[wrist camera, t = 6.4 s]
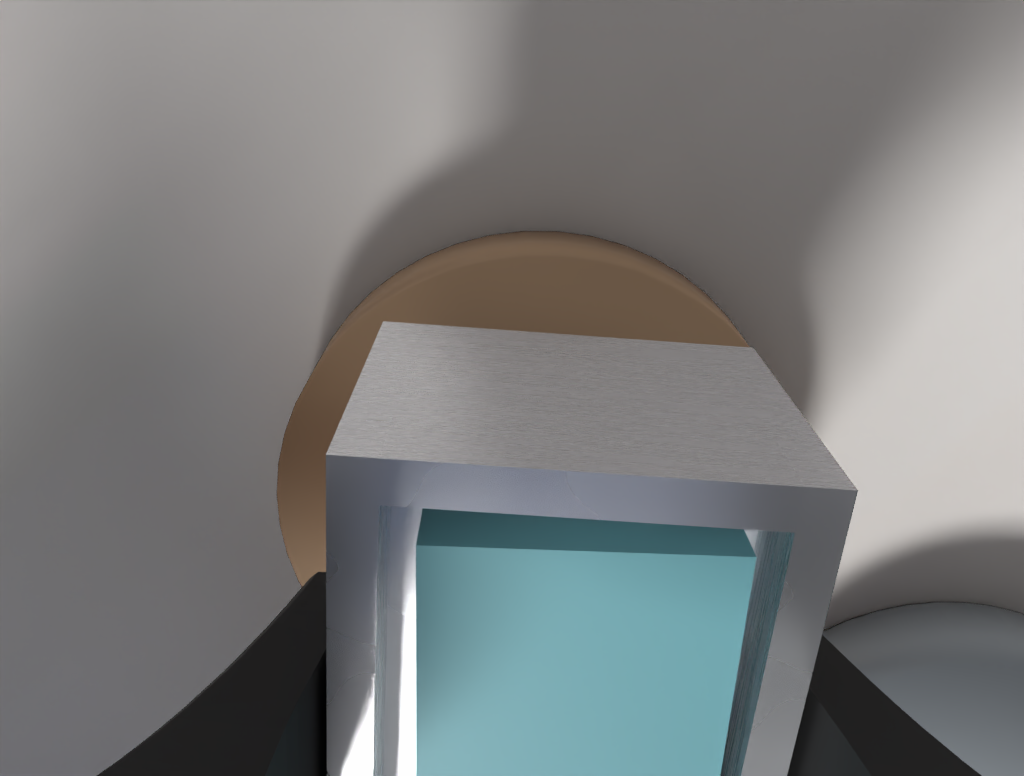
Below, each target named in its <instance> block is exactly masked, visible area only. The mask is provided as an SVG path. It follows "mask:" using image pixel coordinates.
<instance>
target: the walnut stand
mask: <svg viewBox="0 0 1024 776" xmlns="http://www.w3.org/2000/svg"><path fill="white" fill-rule="evenodd" d="M383 321H387V322H401V323H415V324H429V325H443V326H457V327H471V328H485V329H499V330H513V331H527V332H541V333H555V334H569V335H583V336H597V337H611V338H625V339H639V340H653V341H667V342H681V343H695V344H709V345H723V346H737V347H749V345H748V344H747V343H746V341H745V340H744V339H743V337H742V336H741V334H740V333H739V332H738V330H737V329H736V328H735V326H734V325H733V323H732V322H731V321H730V319H729V318H728V317H727V316H726V315H725V314H724V312H723V311H722V310H721V309H720V308H719V307H718V306H717V305H716V304H715V303H714V302H713V301H712V300H711V299H710V297H709V296H708V295H707V294H705V293H704V292H703V291H702V290H700V289H699V288H698V287H697V286H695V285H694V284H693V283H692V282H691V281H689V280H688V279H687V278H686V277H684V276H683V275H682V274H680V273H678V272H677V271H675V270H673V269H672V268H670V267H668V266H667V265H665V264H663V263H662V262H660V261H658V260H657V259H655V258H653V257H650V256H648V255H646V254H643V253H641V252H639V251H636V250H634V249H632V248H629V247H627V246H625V245H621V244H618V243H614V242H611V241H607V240H603V239H600V238H596V237H593V236H586V235H579V234H572V233H565V232H557V231H521V232H513V233H505V234H497V235H489V236H485V237H481V238H477V239H474V240H470V241H466V242H462V243H458V244H455V245H453V246H450V247H448V248H445V249H443V250H440V251H438V252H435V253H433V254H430V255H428V256H426V257H424V258H422V259H420V260H418V261H417V262H415V263H413V264H411V265H410V266H408V267H406V268H404V269H403V270H401V271H399V272H397V273H396V274H395V275H393V276H392V277H391V278H389V279H388V280H387V281H386V282H384V283H383V284H382V285H380V286H379V287H378V288H376V289H375V290H374V291H372V292H371V293H370V294H369V295H368V296H367V297H366V298H365V299H364V300H363V301H362V302H361V303H360V304H359V305H358V306H357V307H356V308H355V309H354V310H353V311H352V312H351V313H350V314H349V316H348V317H347V318H346V320H345V321H344V323H343V324H342V325H341V327H340V328H339V329H338V331H337V332H336V333H335V335H334V336H333V337H332V339H331V340H330V342H329V344H328V346H327V347H326V349H325V351H324V353H323V355H322V356H321V358H320V360H319V362H318V363H317V365H316V367H315V369H314V371H313V372H312V374H311V376H310V378H309V380H308V381H307V383H306V385H305V387H304V389H303V391H302V392H301V394H300V396H299V398H298V400H297V402H296V403H295V406H294V409H293V412H292V414H291V417H290V420H289V423H288V425H287V428H286V431H285V434H284V438H283V443H282V448H281V453H280V458H279V463H278V480H277V501H278V511H279V521H280V527H281V531H282V535H283V539H284V543H285V547H286V551H287V554H288V557H289V559H290V562H291V564H292V566H293V569H294V571H295V574H296V576H297V579H298V581H299V583H300V584H301V586H302V587H303V586H304V584H305V583H306V582H307V581H308V580H309V578H311V577H312V576H313V575H314V574H316V573H317V572H326V453H327V451H328V448H329V446H330V444H331V441H332V439H333V437H334V434H335V432H336V430H337V427H338V425H339V423H340V420H341V418H342V416H343V413H344V411H345V409H346V406H347V404H348V402H349V399H350V397H351V395H352V392H353V390H354V388H355V385H356V383H357V381H358V378H359V376H360V374H361V372H362V369H363V367H364V365H365V362H366V360H367V358H368V355H369V353H370V351H371V348H372V346H373V344H374V341H375V339H376V337H377V334H378V332H379V330H380V327H381V325H382V323H383Z"/></svg>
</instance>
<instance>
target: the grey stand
mask: <svg viewBox="0 0 1024 776" xmlns="http://www.w3.org/2000/svg"><path fill="white" fill-rule="evenodd" d="M822 635H823V636H824V637H825V638H826V639H827V640H828V641H830V642H831V643H832V644H833V645H834V646H835V647H836V648H837V649H838V650H839V651H840V652H841V653H842V654H843V655H844V656H845V657H846V658H847V659H848V660H849V661H850V662H851V663H852V664H853V665H854V666H856V667H857V668H858V669H859V670H860V671H861V672H862V673H863V674H864V675H865V676H866V677H867V678H868V679H869V680H870V681H871V682H872V683H874V684H875V685H876V686H877V687H878V688H879V689H880V690H881V691H882V692H883V693H884V694H885V695H887V696H888V697H889V698H890V699H891V700H892V701H893V702H894V703H895V704H897V705H898V706H899V707H900V708H901V709H902V710H903V711H904V712H906V713H907V714H908V715H909V716H910V717H911V718H912V719H913V720H915V721H916V722H917V723H918V724H919V725H920V726H921V727H923V728H924V729H925V730H926V731H927V732H929V733H930V734H931V735H932V736H934V737H935V738H936V739H937V740H938V741H940V742H941V743H942V744H943V745H944V746H946V747H947V748H948V749H949V750H950V751H952V752H953V753H954V754H955V755H956V756H958V757H959V758H960V759H961V760H962V761H964V762H965V763H966V764H967V765H969V766H970V767H971V768H973V769H974V770H975V771H977V772H978V773H979V774H980V775H982V776H1024V615H1023V614H1021V613H1018V612H1014V611H1010V610H1006V609H1002V608H998V607H994V606H988V605H980V604H972V603H953V602H934V603H924V604H914V605H905V606H900V607H896V608H891V609H886V610H881V611H877V612H873V613H870V614H867V615H864V616H861V617H858V618H854V619H851V620H848V621H846V622H844V623H841V624H839V625H837V626H835V627H832V628H830V629H828V630H825V631H823V633H822Z"/></svg>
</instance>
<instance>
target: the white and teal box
mask: <svg viewBox="0 0 1024 776" xmlns="http://www.w3.org/2000/svg"><path fill="white" fill-rule="evenodd" d="M857 492H858V490H857V489H856V487H855V486H854V485H853V483H852V482H851V480H850V479H849V478H848V476H847V475H846V474H845V472H844V471H843V469H842V468H841V467H840V465H839V464H838V463H837V461H836V460H835V459H834V457H833V456H832V454H831V453H830V452H829V450H828V449H827V448H826V446H825V445H824V444H823V442H822V441H821V439H820V438H819V437H818V435H817V434H816V433H815V431H814V430H813V428H812V427H811V426H810V424H809V423H808V422H807V420H806V419H805V418H804V416H803V415H802V413H801V412H800V411H799V409H798V408H797V407H796V405H795V404H794V403H793V401H792V400H791V398H790V397H789V396H788V394H787V393H786V392H785V390H784V389H783V387H782V386H781V385H780V383H779V382H778V381H777V379H776V378H775V377H774V375H773V374H772V372H771V371H770V370H769V368H768V367H767V366H766V364H765V363H764V362H763V360H762V359H761V357H760V356H759V355H758V353H757V352H756V351H755V349H754V348H751V347H737V346H723V345H709V344H695V343H681V342H667V341H653V340H639V339H625V338H611V337H597V336H583V335H569V334H555V333H541V332H527V331H513V330H499V329H485V328H471V327H457V326H443V325H429V324H415V323H401V322H387V321H383V323H382V325H381V327H380V330H379V332H378V334H377V337H376V339H375V341H374V344H373V346H372V348H371V351H370V353H369V355H368V358H367V360H366V362H365V365H364V367H363V369H362V372H361V374H360V376H359V378H358V381H357V383H356V385H355V388H354V390H353V392H352V395H351V397H350V399H349V402H348V404H347V406H346V409H345V411H344V413H343V416H342V418H341V420H340V423H339V425H338V427H337V430H336V432H335V434H334V437H333V439H332V441H331V444H330V446H329V448H328V451H327V453H326V684H327V776H416V542H417V537H418V531H419V526H420V521H421V515H422V510H423V508H426V509H441V510H456V511H471V512H486V513H502V514H517V515H532V516H547V517H562V518H578V519H593V520H608V521H623V522H638V523H654V524H669V525H684V526H699V527H714V528H729V529H744V531H745V533H746V535H747V537H748V539H749V542H750V544H751V546H752V548H753V550H754V553H755V555H756V563H755V569H754V575H753V581H752V588H751V594H750V600H749V606H748V612H747V618H746V624H745V630H744V636H743V642H742V648H741V654H740V660H739V666H738V672H737V678H736V684H735V690H734V696H733V702H732V708H731V714H730V720H729V726H728V732H727V738H726V744H725V750H724V757H723V763H722V769H721V775H720V776H787V774H788V770H789V766H790V762H791V758H792V754H793V750H794V746H795V742H796V738H797V734H798V730H799V726H800V722H801V718H802V713H803V709H804V705H805V701H806V697H807V693H808V689H809V685H810V681H811V677H812V673H813V669H814V665H815V661H816V657H817V653H818V649H819V645H820V641H821V637H822V633H823V629H824V625H825V621H826V617H827V613H828V609H829V605H830V601H831V597H832V593H833V589H834V585H835V581H836V577H837V573H838V569H839V564H840V560H841V556H842V552H843V548H844V544H845V540H846V536H847V532H848V528H849V524H850V520H851V516H852V512H853V508H854V504H855V500H856V496H857Z"/></svg>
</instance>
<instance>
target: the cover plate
mask: <svg viewBox="0 0 1024 776" xmlns="http://www.w3.org/2000/svg"><path fill="white" fill-rule="evenodd" d="M755 563H756V555H755V553H754V550H753V548H752V546H751V544H750V542H749V539H748V537H747V535H746V533H745V531H744V529H729V528H714V527H699V526H684V525H669V524H654V523H638V522H623V521H608V520H593V519H578V518H562V517H547V516H532V515H517V514H502V513H486V512H471V511H456V510H441V509H426V508H423V510H422V515H421V521H420V526H419V531H418V537H417V542H416V776H720V775H721V769H722V763H723V757H724V750H725V744H726V738H727V732H728V726H729V720H730V714H731V708H732V702H733V696H734V690H735V684H736V678H737V672H738V666H739V660H740V654H741V648H742V642H743V636H744V630H745V624H746V618H747V612H748V606H749V600H750V594H751V588H752V581H753V575H754V569H755Z"/></svg>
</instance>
